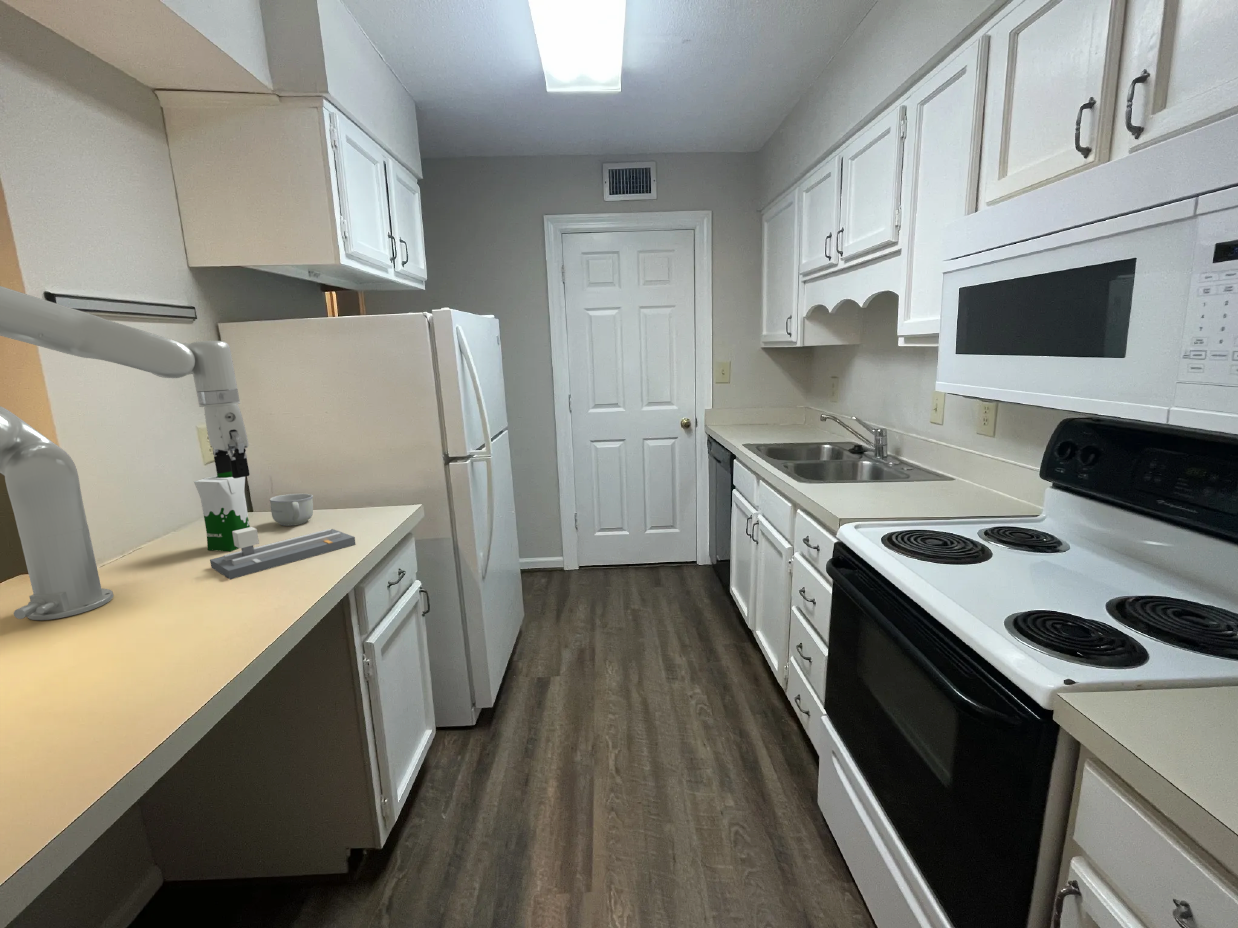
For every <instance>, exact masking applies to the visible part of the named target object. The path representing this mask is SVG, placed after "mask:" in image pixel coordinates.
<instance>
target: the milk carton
mask: <svg viewBox="0 0 1238 928" xmlns="http://www.w3.org/2000/svg"><path fill="white" fill-rule="evenodd" d="M193 483H194V485H195V488H196V490H197V493H198V495H199V498H200V503H201V507H202V514H203V519H204V526H205V531H206V542H207V544H206V546H207V551H212V552H227V553H228V552H229V553H232V552H233V551H235V550H238V549H240V548H238V547H236V546H235V545H234V539H233V533H232V531H235V530H240V529H244V528H249V527H251V525H250V521H249V520H250V519H249V514H248V508H247V502H246V500H247V499H246V495H245V484H246V477H240V478H233V477H232V472H226V473H220V474H219V473H217V472H216V475H213V476H209V477H204V478H202V479H199V480H194V481H193Z"/></svg>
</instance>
